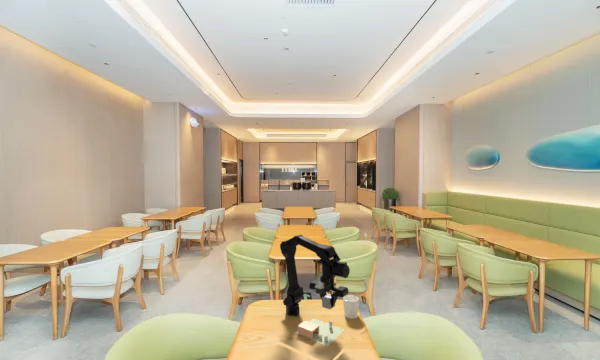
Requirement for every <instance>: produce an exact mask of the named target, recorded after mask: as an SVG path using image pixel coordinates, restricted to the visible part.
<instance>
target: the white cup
mask: <svg viewBox="0 0 600 360" xmlns="http://www.w3.org/2000/svg"><path fill="white" fill-rule="evenodd" d="M342 299H343V300H342V301H343V302H342V303H343V313H344V317H345V318H347V319H351V320H352V319H357V318H358V315H359V314H358V313H359V306H360V305H359V303H360V302H359V301H360V299H359V297H358V296H357V295H354V294H347V295H345V296H344V297H342Z"/></svg>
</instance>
